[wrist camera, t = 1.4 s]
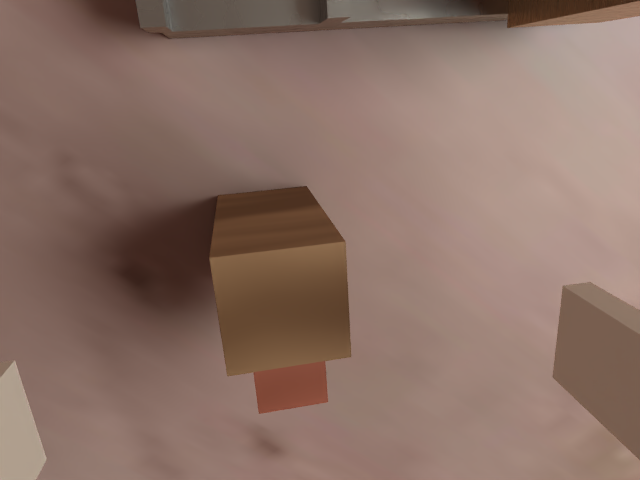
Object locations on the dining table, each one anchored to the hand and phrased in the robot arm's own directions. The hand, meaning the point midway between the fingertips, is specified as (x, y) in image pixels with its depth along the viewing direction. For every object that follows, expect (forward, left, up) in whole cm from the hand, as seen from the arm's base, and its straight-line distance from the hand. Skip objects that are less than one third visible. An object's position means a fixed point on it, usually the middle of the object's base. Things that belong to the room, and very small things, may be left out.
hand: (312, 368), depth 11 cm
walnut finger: (0, 0, -11) cm, 11 cm away
